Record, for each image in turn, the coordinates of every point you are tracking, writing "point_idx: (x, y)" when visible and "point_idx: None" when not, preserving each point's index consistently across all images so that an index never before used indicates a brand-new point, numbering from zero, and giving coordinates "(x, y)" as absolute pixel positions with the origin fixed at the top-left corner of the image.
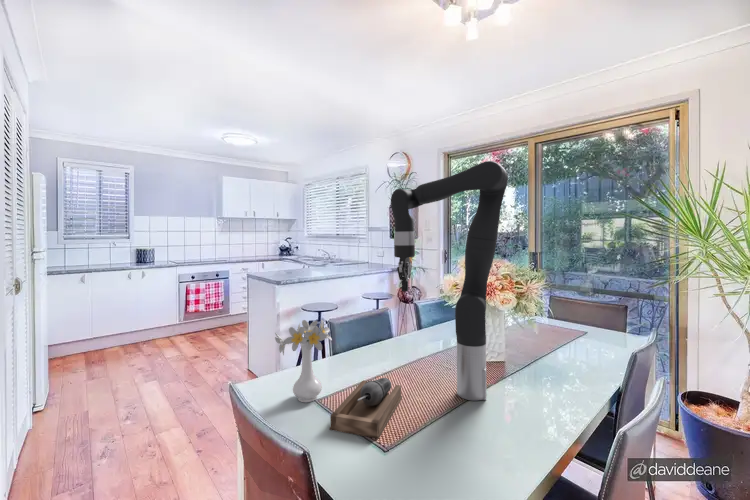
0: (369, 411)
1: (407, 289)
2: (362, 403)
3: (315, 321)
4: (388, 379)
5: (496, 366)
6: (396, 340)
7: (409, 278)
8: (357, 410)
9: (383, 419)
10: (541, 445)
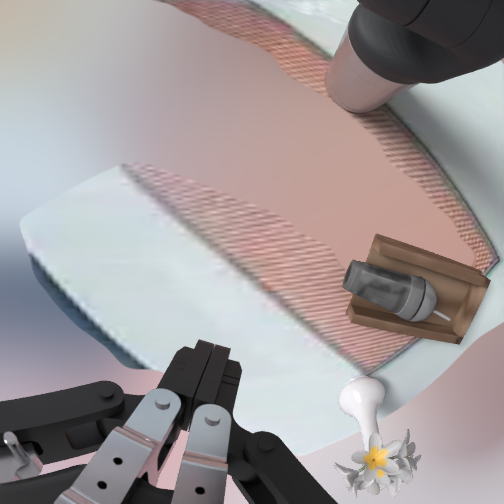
0: None
1: (226, 353)
2: None
3: (351, 485)
4: (352, 270)
5: (187, 12)
6: (44, 246)
7: (117, 385)
8: None
9: (466, 269)
10: None
